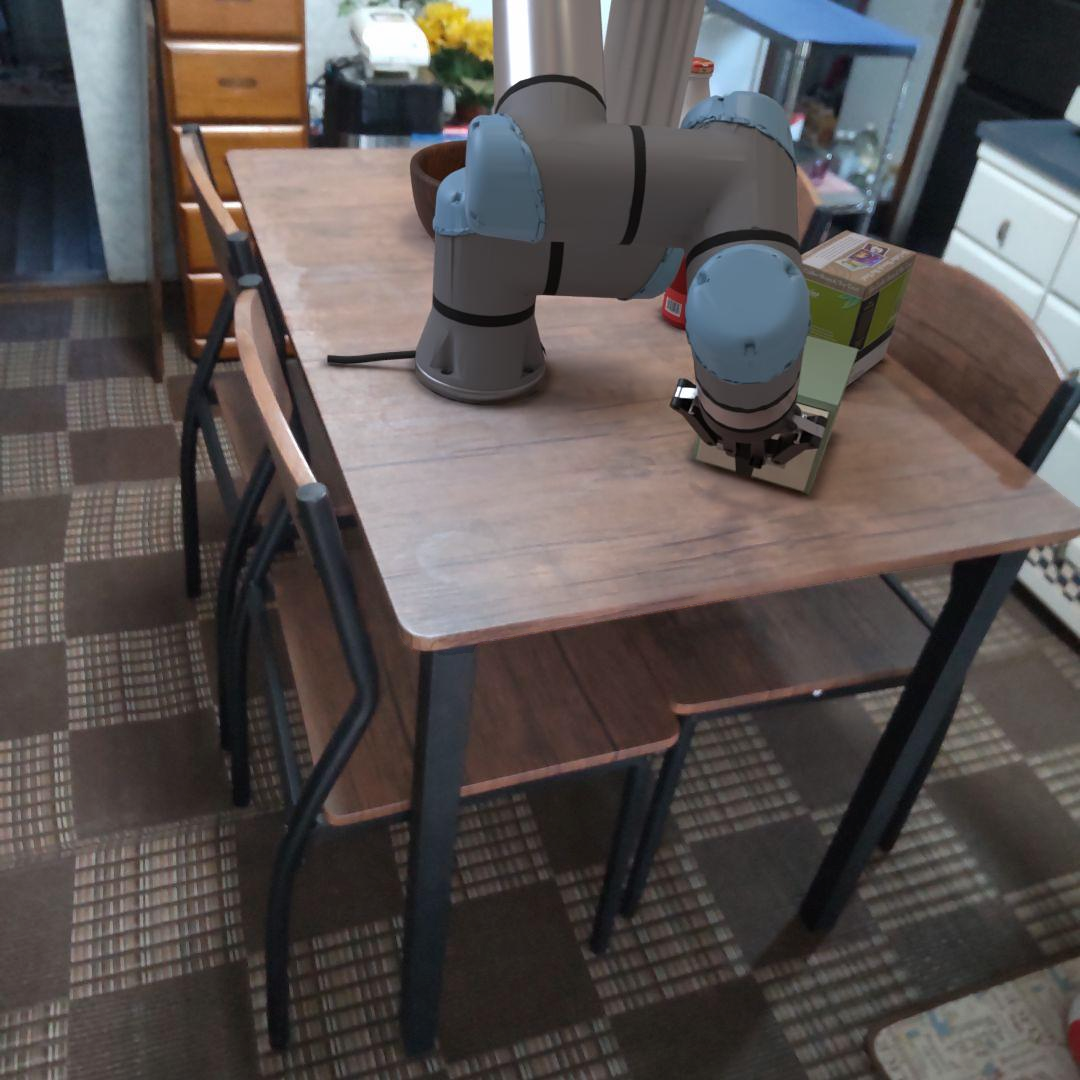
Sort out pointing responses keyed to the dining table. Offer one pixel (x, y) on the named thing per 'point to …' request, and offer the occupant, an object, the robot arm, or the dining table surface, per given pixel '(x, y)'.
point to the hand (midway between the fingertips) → (747, 462)
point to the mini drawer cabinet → (818, 390)
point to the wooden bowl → (434, 176)
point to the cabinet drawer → (787, 474)
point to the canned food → (676, 299)
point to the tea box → (856, 293)
